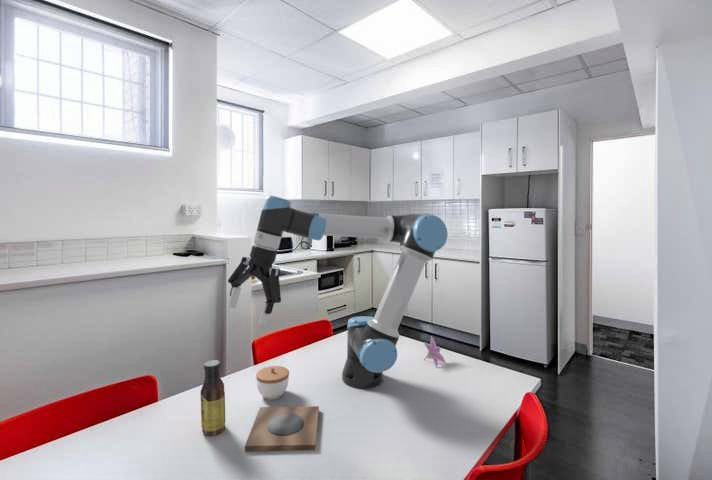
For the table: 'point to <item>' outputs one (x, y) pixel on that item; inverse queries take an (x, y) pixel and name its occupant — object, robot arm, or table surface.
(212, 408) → the sauce bottle
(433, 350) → the lily
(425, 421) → the table surface
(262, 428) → the walnut board
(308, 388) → the table surface
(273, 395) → the lidded jar
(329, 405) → the table surface
